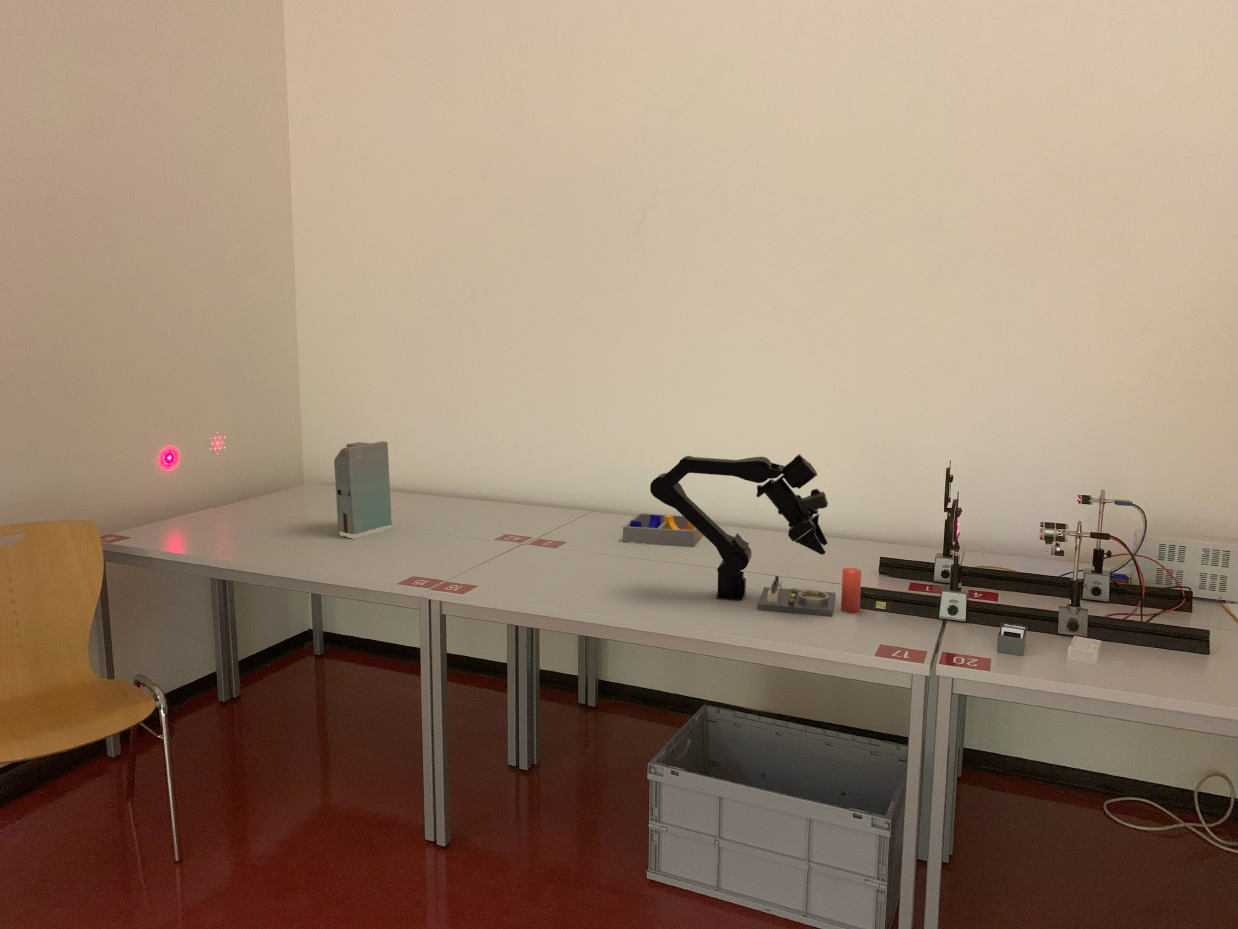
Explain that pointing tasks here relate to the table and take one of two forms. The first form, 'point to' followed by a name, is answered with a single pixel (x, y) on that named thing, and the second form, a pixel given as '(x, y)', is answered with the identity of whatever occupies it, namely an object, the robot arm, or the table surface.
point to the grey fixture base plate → (796, 600)
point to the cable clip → (652, 524)
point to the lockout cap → (851, 590)
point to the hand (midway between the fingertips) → (825, 549)
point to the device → (362, 487)
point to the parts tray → (661, 532)
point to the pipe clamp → (672, 524)
